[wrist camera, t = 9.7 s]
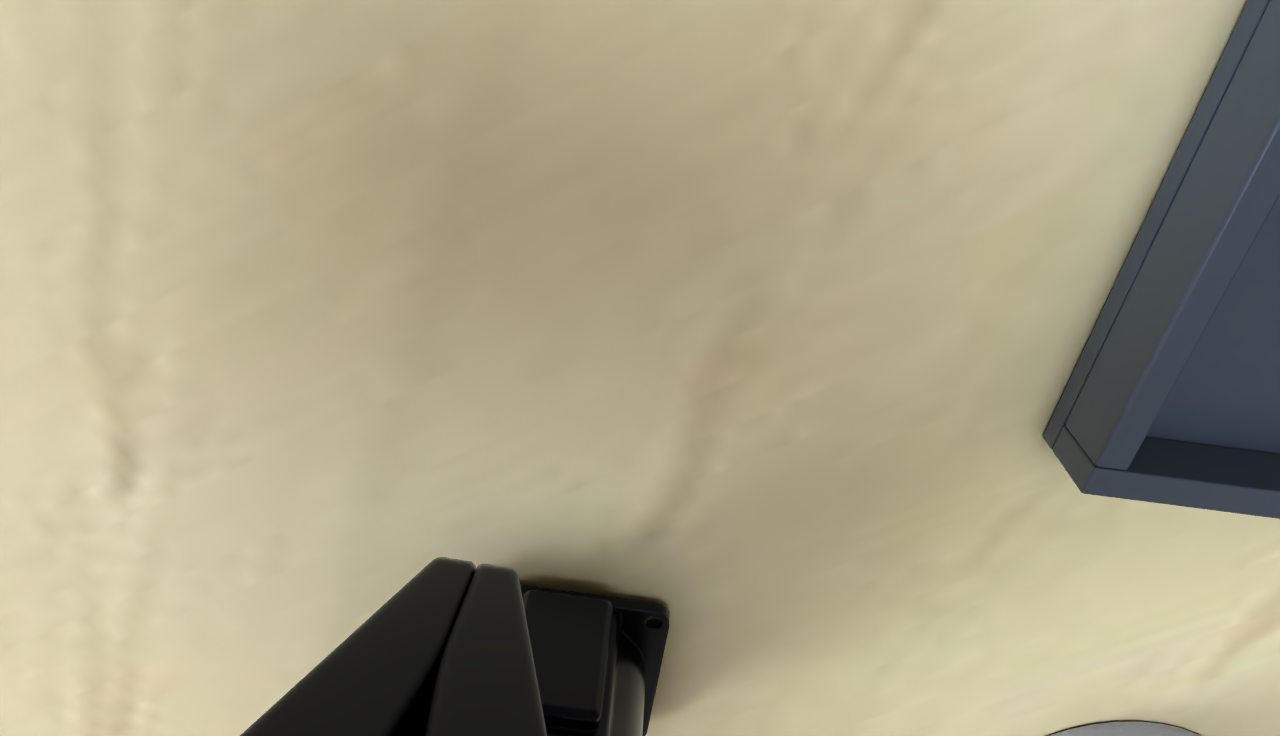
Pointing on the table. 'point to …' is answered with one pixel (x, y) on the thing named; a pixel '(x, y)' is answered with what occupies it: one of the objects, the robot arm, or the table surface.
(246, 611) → the table surface
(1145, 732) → the glass holder
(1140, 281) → the tray
